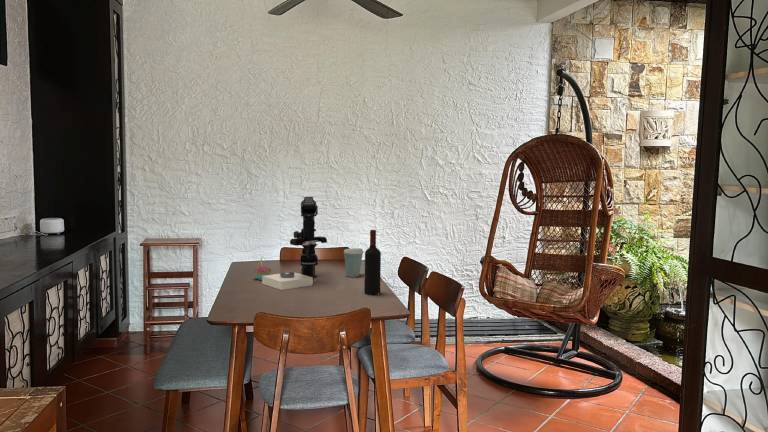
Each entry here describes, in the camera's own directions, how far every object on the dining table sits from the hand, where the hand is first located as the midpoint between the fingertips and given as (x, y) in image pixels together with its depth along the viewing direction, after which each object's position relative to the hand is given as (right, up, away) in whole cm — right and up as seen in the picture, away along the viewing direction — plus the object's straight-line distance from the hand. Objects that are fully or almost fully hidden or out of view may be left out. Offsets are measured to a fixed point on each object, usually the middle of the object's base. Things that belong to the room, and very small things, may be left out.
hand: (308, 257), depth 316 cm
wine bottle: (+32, -16, -19) cm, 41 cm away
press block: (-10, -13, -2) cm, 17 cm away
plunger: (-10, -13, -2) cm, 17 cm away
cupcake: (-25, -12, +10) cm, 30 cm away
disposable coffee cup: (+21, -11, +22) cm, 33 cm away
